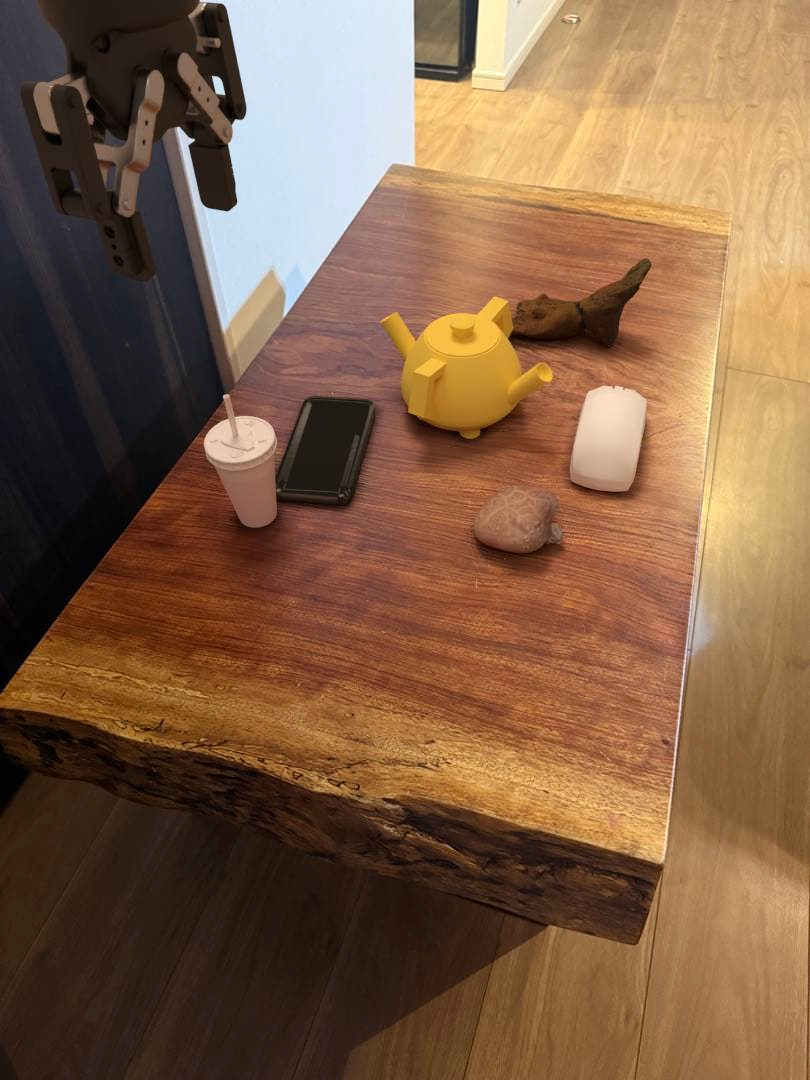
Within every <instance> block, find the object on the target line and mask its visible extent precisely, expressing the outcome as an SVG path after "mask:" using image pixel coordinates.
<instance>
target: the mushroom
mask: <svg viewBox="0 0 810 1080" xmlns="http://www.w3.org/2000/svg"><path fill="white" fill-rule="evenodd" d="M559 512H560V502H559V500H558V497H557V495H555V493H554V492H552V491H551V490H550V489H548V488H544V487H539V486H533V485H527V484H514V485H508V486H506V487H503V488H500V489H498V490H497V491H496V492H495V493H493V494H492V495H491V496H490V497H488V499H487V500H486V501H484V503H483V504H482V506H481V507H480V508H479V509H478V511H477V513H476V514H475V516H474V519H473V526H472V527H473V532H474V536H475V537H476V539H477V540H478V541H479V542H481V543H482V544H484V545H485V546H487V547H489V548H493V549H495V550H496V549H497V550H502V551H504V552H508V553H515V554H527V553H532V552H535V551H537V550H538V549H541V547H543V546H544V545H545V544H546V545H551V544H557V545H559V544H562V543H563V540H564V539H565V536H564V533H563V529H562V526H561V525H560V524H558V523H555V522H552V521H553V519H554V518H555V517H556V516H557V515H558V514H559Z"/></svg>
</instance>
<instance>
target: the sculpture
mask: <svg viewBox="0 0 810 1080" xmlns="http://www.w3.org/2000/svg"><path fill="white" fill-rule="evenodd" d="M651 268H652V261H651V260H650V259H649V258H647V257H645V258H643V259H640V261H638V262H637V263H636V264H635V265H633V266H632V267H630V269H629V270H628V271H627V272H626V273H625V275H624V276H623V277H622V278H621V279H619V280H617V281H613V282H611V283H608V284H606V285H604V286H602V287H600V288H598V289H596V290H595V291H594V292H593V293H591V294H590V295H589V296H587V297H585V298H582V299H580V300H563V299H561V298H560V299H559V298H552V297H549V296H548V295H547V294H546V293H541V294H539V295H538V296H537V297H536V298H534V299H526V300H525V299H524V300H521V301H518V303H517V306H516V310H517V311H516V313H515V314H516V315H515V316H514V317H511V318H512V323H513V330H512V332H511V334H510V336H511V335H520V336H524V337H525V336H526V337H529V338H533V339H552V340H553V339H555V340H557V339H567V338H570V337H573V336H576V335H580V333H581V332H585V331H588V332H590V333H591V334H595V335H596V336H597V337H598V339H599V340H600V341H601V342H602V343H603V345H606V346H609V347H613V346H614V345H615V343H616V341H617V339H618V335H619V331H620V330H619V328H620V321H621V318H622V314H623V310H624V309H625V306H626V305H627V303H628V302H630V300H631V299H633V298H634V296H635V295H636V294H637V293H638V291H639V290H640V288H641V285H642V283H643V281H644V280H645V278H646V277H647V275H648V273H649V272H650V270H651Z"/></svg>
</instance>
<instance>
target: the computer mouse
mask: <svg viewBox="0 0 810 1080" xmlns="http://www.w3.org/2000/svg"><path fill="white" fill-rule="evenodd" d="M647 402H648V401H647V398H646V397H644V396H642V395H641V394H640V393H638V391H636V390H635V389H631V388H627V387H625V388H624V386H619V385H615V386H614V387H613V386H612V385H601V386H599V387H597V388H594V389H592V390H588V392H587V394H586V396H585V399H584V401H583V403H582V405H581V408H580V412H579V417H578V423H577V427H576V432H575V436H574V441H573V445H572V451H571V456H570V463H569V468H568V469H569V477H570V482H572V483H574V484H576V485H579V486H582V487H584V488H589V489H592V490H594V491H595V490H596V491H603V492H614V493H615V492H617V493H618V492H628V491H629V490H630V488H631V486H632V484H633V483H634V481H635V477H636V472H637V469H638V468H637V467H638V463H639V457H640V454H641V453H640V452H641V448H642V442H643V436H644V432H645V429H646V423H647V419H648V412H647Z"/></svg>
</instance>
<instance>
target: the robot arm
mask: <svg viewBox="0 0 810 1080" xmlns="http://www.w3.org/2000/svg"><path fill="white" fill-rule="evenodd" d="M35 2H36V5H37V8H38V11H39V14H40V16H41V17H42V19H43V20H44V22H45V23H46V24H47V25H48V26H50V27H51V28H52V30H54V32H55V33H56V34H57V35H58V36H59V39H60V40H61V42H62V44H63V47H64V51H65V61H66V62H65V64H66V66H65V75H63V76H61V77H59V78H55V79H53V80H52V81H49V82H48V81H32V80H26V81H24V82H23V83H22V85H21V87H20V100H21V104H22V106H23V109H24V113H25V117H26V118H27V123H28V126H29V129H30V132H31V133H30V134H31V136H32V139H33V142H34V146H35V149H36V152H37V155H38V158H39V159H38V160H39V162H40V165H41V168H42V171H43V175H44V178H45V182H46V185H47V188H48V192H49V194H50V198H51V200H52V204H53V208H54V209H55V212H57V213H58V214H60V215H64V216H69V217H70V216H71V217H77V218H83V219H89V220H92V221H95V224H96V227H97V230H98V233H99V236H100V239H101V241H102V245H103V247H104V251H105V254H106V258H107V260H108V264H109V266H110V267H111V269H112V270H113V271H114V273H118V275H119V276H120V277H122V278H125V279H130V280H134V281H139V282H148V281H149V280H150V279H151V278H152V277H154V276H155V275H156V274H157V268H156V264H155V260H154V257H153V253H152V250H151V247H150V243H149V239H148V236H147V233H146V228H145V225H144V221H143V218H142V215H141V210H140V211H139V210H136V205H137V198H138V197H137V196H138V190H139V183H140V176H141V174H142V173H143V172H145V171H147V169H148V168H149V167H150V163H151V156H152V148H153V145H154V144H155V143H157V142H159V141H160V140H162V139H163V137H164V135H165V134H166V133H167V132H168V130H169V129H170V130H171V129H177V128H180V130H181V131H182V132H183V133H184V134H185V135H186V136H187V137H188V138H189V139H190V140H191V139H192V140H193V141H192V142H191V143H189V144H188V145H187V146H188V150H189V155H190V158H191V164H192V169H193V173H194V178H195V182H196V187H197V191H198V196H199V199H200V202H201V204H202V206H204V207H205V208H207V209H210V210H215V211H222V212H230V211H231V210H232V209H233V208H234V207H236V206H237V204H238V197H237V191H236V190H237V189H236V188H237V187H236V186H237V183H236V179H235V173H234V168H233V163H232V156H231V151H230V146H229V144H230V143H231V141H232V139H233V135H234V134H233V132H234V131H233V124H234V123H235V121H243V120H244V119H245V117H246V115H247V102H246V97H245V91H244V87H243V81H242V77H241V72H240V67H239V63H238V57H237V53H236V47H235V43H234V37H233V33H232V27H231V21H230V18H229V13H228V12H229V11H228V8H227V7H226V5H225V4H223V3H221V2H209V1H201V0H35ZM213 77H216V78H219V79H220V80H221V83H222V87H223V92H224V94H221V93H217V91H216V87H215V84H214V78H213ZM106 131H107V132H108V133H109V134H110V135H112V136H113V137H114V138H116V139H118V140H120V141H123V142H124V141H125V144H124V145H122V146H116V145H109V144H106ZM111 167H115V177H114V185H113V189H112V188H108V187H107V182H108V174H109V170H110V168H111ZM71 172H72V173H73V174H74V175H75V177H76V180H77V184H78V188H75V185H74V181H73V178H72V174H71ZM0 1080H20V1078H19V1075H18V1073H17V1070H16V1067H15V1066H14V1064H13V1061H12V1060H11V1057H10V1056H9V1054H8V1053H7V1051H6V1049H5V1047H4V1046H3V1044H2V1043H1V1042H0Z"/></svg>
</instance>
